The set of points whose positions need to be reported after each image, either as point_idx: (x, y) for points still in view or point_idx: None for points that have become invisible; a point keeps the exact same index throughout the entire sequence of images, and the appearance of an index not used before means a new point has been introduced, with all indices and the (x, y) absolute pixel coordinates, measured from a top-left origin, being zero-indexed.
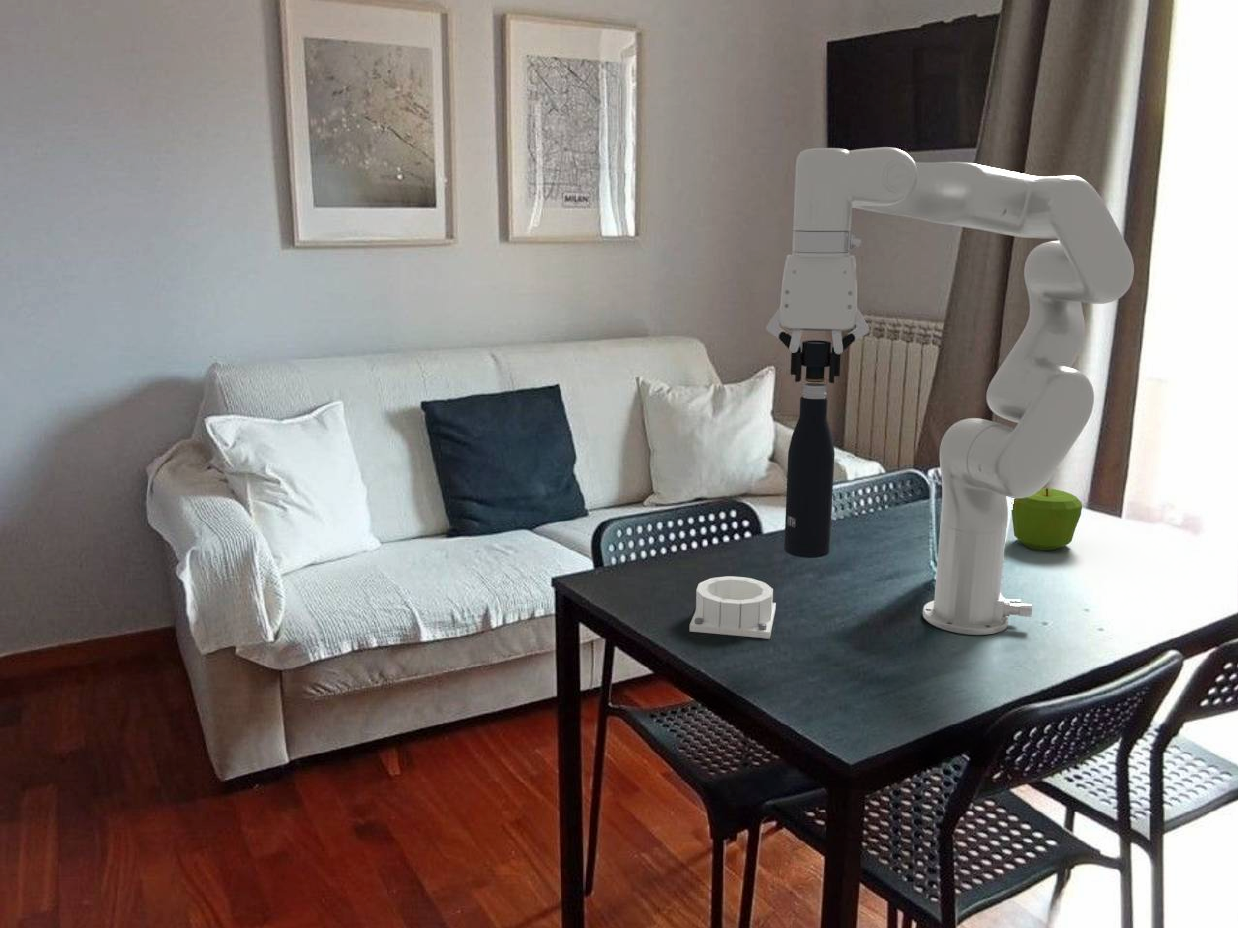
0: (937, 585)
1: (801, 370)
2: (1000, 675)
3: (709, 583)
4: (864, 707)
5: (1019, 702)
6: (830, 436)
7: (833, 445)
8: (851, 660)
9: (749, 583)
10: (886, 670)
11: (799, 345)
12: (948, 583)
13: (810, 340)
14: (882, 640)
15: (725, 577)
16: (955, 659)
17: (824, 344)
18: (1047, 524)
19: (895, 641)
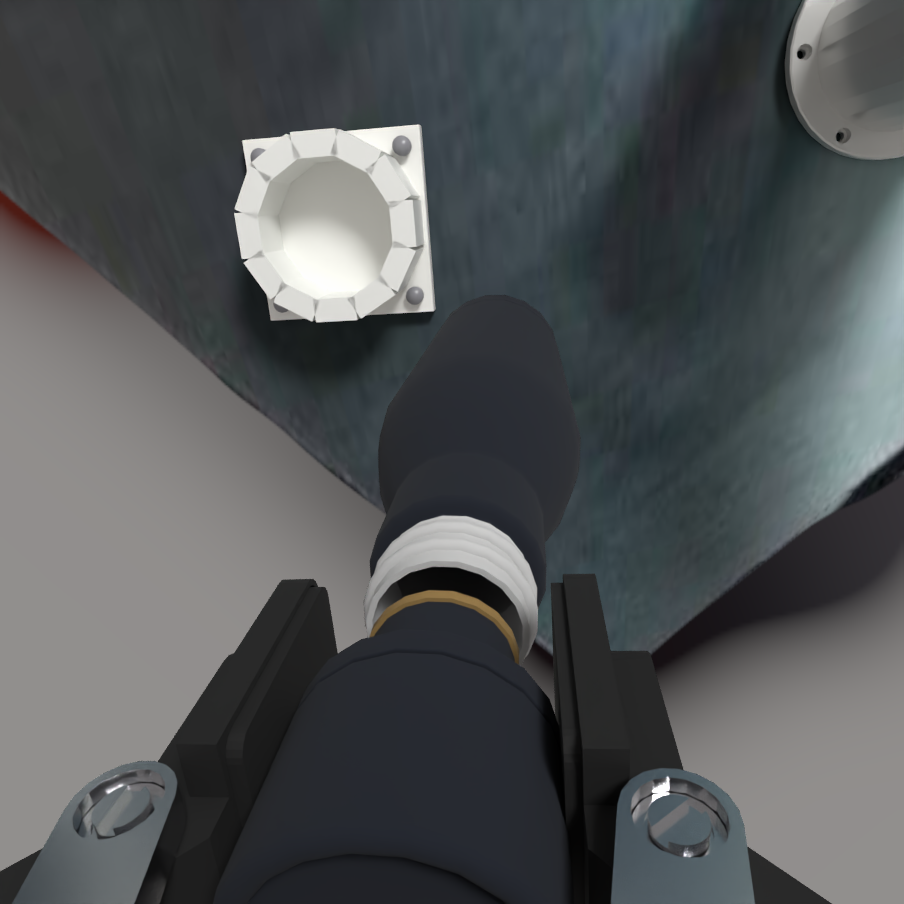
0: (853, 58)
1: (311, 654)
2: (895, 359)
3: (257, 206)
4: (623, 541)
5: (898, 463)
6: (564, 509)
7: (576, 461)
8: (602, 368)
9: (347, 162)
10: (668, 395)
11: (183, 862)
12: (886, 98)
13: (277, 866)
14: (670, 247)
15: (281, 146)
16: (817, 305)
17: None
18: None
19: (698, 244)
